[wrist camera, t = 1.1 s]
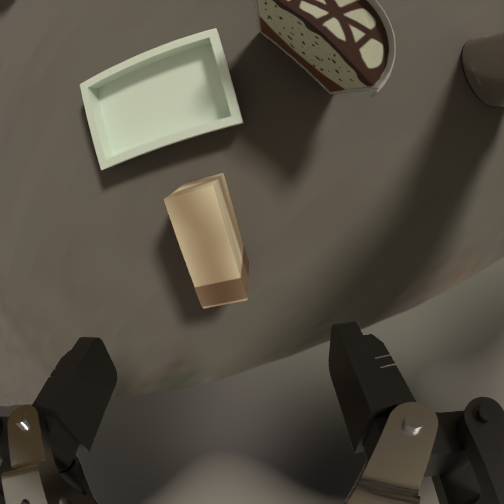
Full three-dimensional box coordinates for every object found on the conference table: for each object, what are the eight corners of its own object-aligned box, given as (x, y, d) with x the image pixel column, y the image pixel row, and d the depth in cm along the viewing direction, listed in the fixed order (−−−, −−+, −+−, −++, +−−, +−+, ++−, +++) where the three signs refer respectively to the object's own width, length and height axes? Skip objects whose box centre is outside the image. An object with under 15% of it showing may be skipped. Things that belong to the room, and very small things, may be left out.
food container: (379, 71, 22) (431, 51, 13) (340, 105, 24) (383, 94, 15) (290, -9, 19) (305, -60, 10) (248, 23, 21) (245, -25, 12)
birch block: (223, 172, 27) (213, 185, 21) (249, 264, 31) (247, 300, 24) (184, 183, 27) (163, 199, 21) (212, 272, 31) (202, 308, 25)
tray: (219, 36, 21) (216, 28, 19) (243, 123, 25) (242, 122, 23) (92, 86, 23) (80, 84, 21) (112, 166, 27) (101, 170, 24)
